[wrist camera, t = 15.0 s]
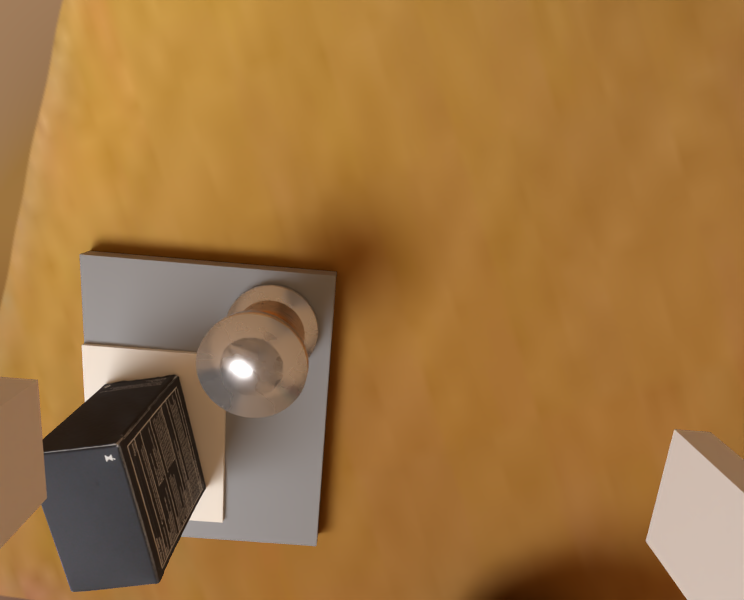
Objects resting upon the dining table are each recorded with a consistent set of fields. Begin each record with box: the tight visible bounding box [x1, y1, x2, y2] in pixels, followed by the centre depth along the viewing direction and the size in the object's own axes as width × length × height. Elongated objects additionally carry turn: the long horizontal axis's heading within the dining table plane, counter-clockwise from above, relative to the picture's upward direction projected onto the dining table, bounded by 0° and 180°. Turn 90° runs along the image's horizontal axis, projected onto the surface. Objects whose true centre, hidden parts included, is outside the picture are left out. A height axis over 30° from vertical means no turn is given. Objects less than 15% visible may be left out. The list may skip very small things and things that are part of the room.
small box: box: [41, 374, 206, 592], centre depth 39 cm, size 11×6×10 cm, turn 8°
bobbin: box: [196, 284, 319, 418], centre depth 39 cm, size 7×7×8 cm
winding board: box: [80, 251, 337, 546], centre depth 45 cm, size 19×24×2 cm
